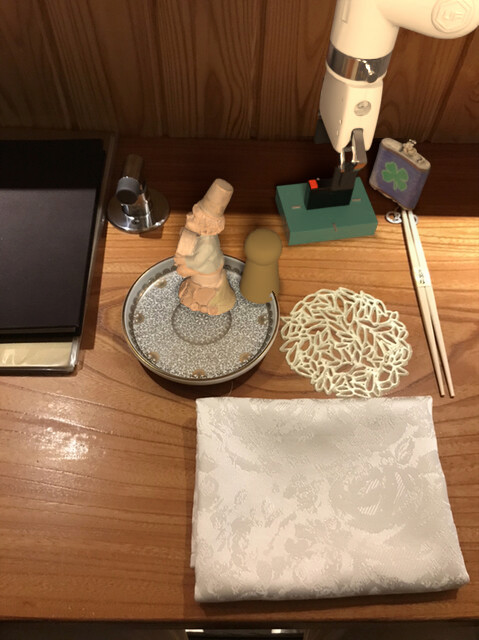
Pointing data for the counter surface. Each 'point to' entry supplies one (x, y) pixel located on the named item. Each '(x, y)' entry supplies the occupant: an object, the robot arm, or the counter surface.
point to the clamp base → (324, 216)
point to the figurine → (205, 254)
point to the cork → (261, 266)
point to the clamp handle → (325, 195)
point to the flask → (399, 172)
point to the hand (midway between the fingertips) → (332, 164)
